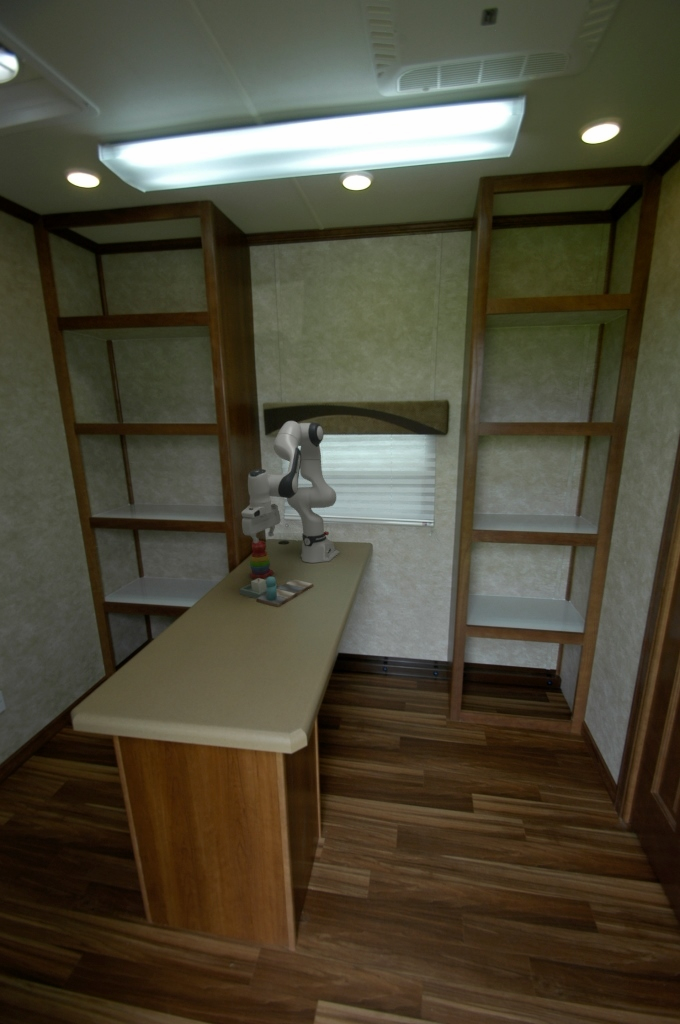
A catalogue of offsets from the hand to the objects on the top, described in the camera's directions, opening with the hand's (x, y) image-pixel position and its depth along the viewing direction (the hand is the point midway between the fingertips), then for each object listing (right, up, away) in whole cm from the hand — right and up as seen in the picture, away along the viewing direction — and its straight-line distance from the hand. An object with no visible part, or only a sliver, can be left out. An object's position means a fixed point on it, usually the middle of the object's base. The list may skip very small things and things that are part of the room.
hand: (263, 539), depth 184 cm
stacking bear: (-6, -20, +24) cm, 32 cm away
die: (-3, -23, +5) cm, 24 cm away
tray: (-3, -24, +5) cm, 24 cm away
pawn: (+4, -24, -6) cm, 25 cm away
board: (+9, -24, +2) cm, 26 cm away
